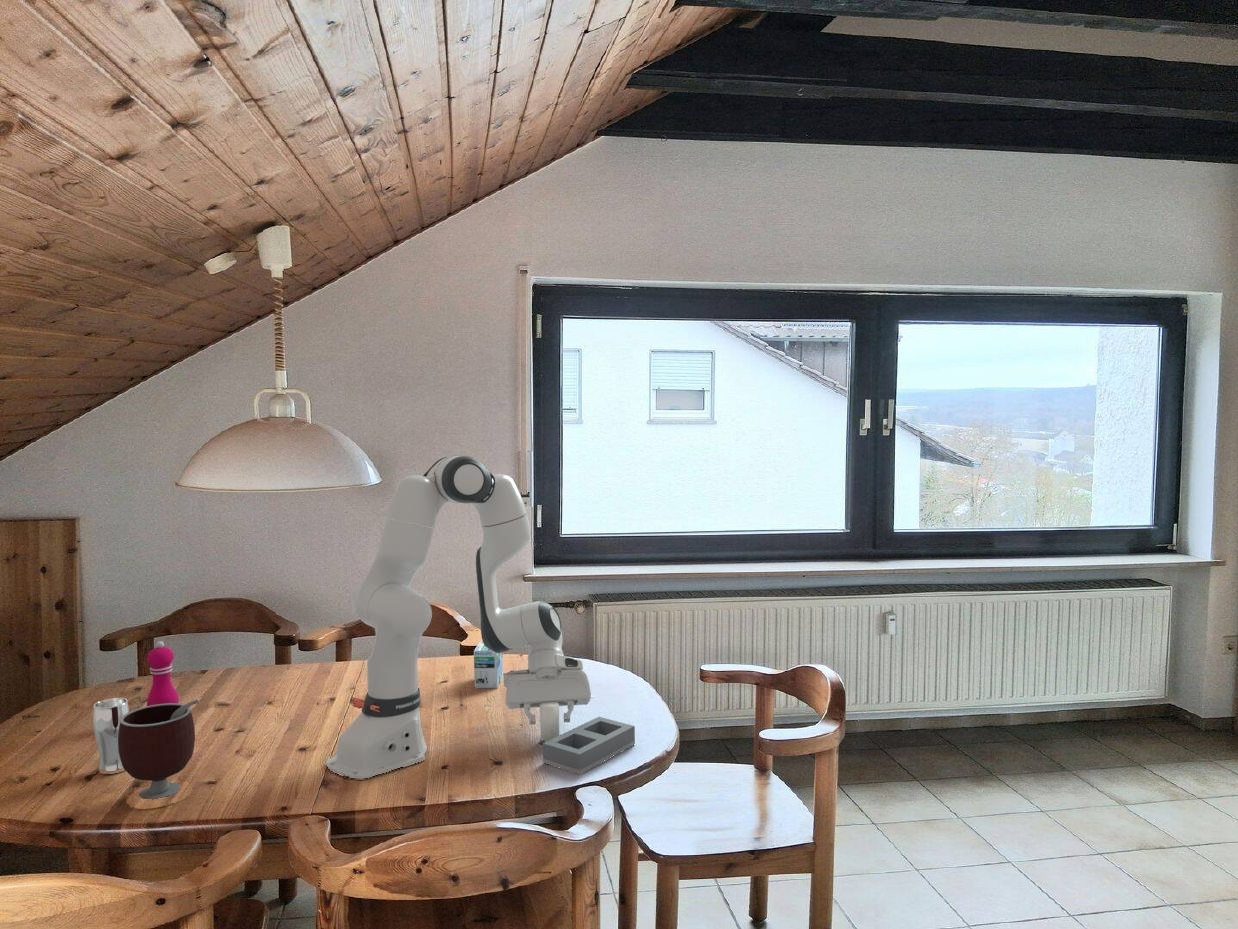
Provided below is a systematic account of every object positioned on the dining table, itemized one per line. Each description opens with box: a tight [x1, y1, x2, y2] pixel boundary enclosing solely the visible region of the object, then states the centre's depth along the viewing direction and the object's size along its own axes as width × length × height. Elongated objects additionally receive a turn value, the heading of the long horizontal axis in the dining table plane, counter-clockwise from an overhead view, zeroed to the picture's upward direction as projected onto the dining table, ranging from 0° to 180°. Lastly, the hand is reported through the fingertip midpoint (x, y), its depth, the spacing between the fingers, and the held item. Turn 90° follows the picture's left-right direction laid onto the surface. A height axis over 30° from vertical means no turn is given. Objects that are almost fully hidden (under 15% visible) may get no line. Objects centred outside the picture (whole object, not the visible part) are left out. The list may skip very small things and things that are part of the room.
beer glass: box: [92, 697, 130, 772], centre depth 194 cm, size 7×7×15 cm
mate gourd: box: [118, 699, 199, 800], centre depth 181 cm, size 16×14×20 cm
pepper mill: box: [146, 640, 180, 706], centre depth 226 cm, size 7×7×20 cm
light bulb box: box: [473, 640, 504, 689], centre depth 251 cm, size 11×7×11 cm, turn 179°
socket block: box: [542, 716, 636, 775], centre depth 200 cm, size 20×10×4 cm, turn 143°
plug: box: [539, 702, 560, 742], centre depth 207 cm, size 4×4×9 cm
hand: (549, 722), depth 207 cm, fingers open, 7 cm apart
